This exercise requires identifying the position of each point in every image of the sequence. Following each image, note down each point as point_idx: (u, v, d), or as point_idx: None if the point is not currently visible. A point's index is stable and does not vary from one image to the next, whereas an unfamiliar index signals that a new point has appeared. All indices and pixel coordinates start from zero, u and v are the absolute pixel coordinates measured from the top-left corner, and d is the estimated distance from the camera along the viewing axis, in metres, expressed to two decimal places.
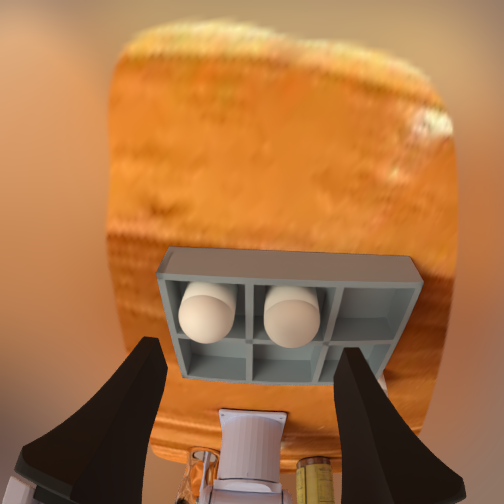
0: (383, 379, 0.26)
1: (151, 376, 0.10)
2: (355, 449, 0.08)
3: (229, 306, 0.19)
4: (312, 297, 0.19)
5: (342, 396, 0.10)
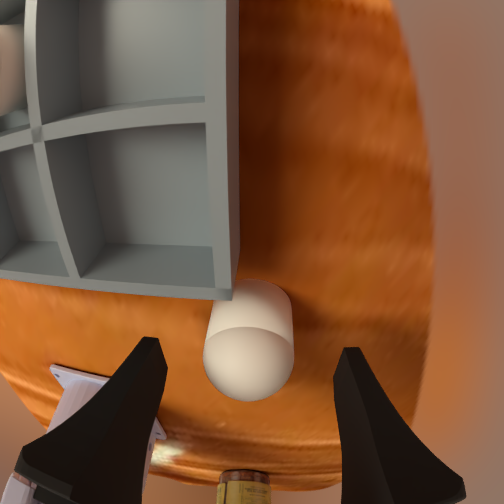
0: (281, 312, 0.12)
1: (151, 376, 0.10)
2: (355, 449, 0.08)
3: None
4: (6, 27, 0.05)
5: (342, 396, 0.10)
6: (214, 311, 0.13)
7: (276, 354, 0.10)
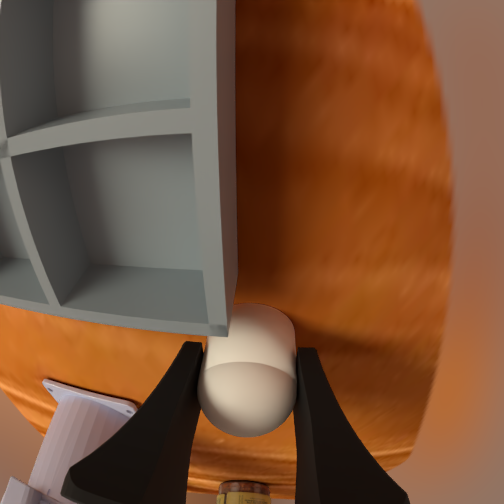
0: (283, 342, 0.11)
1: (196, 382, 0.10)
2: (304, 452, 0.08)
3: None
4: None
5: (296, 397, 0.10)
6: (209, 339, 0.11)
7: (277, 392, 0.09)
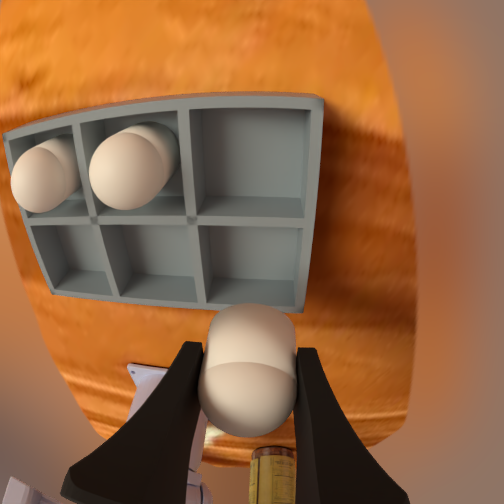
0: (283, 342, 0.11)
1: (196, 382, 0.10)
2: (303, 452, 0.08)
3: (59, 159, 0.13)
4: (154, 136, 0.13)
5: None
6: (210, 339, 0.11)
7: (277, 392, 0.09)
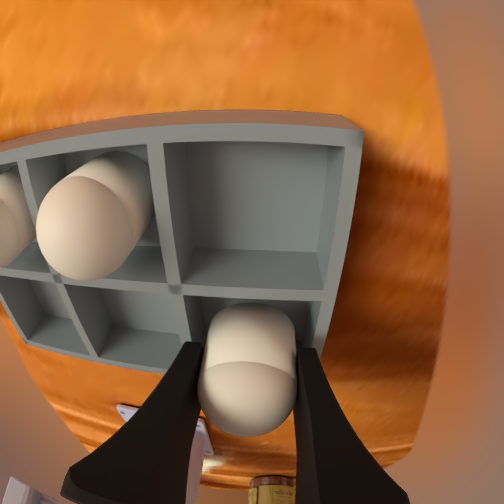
0: (283, 342, 0.11)
1: (196, 382, 0.10)
2: (303, 452, 0.08)
3: (7, 205, 0.09)
4: (119, 179, 0.09)
5: (296, 397, 0.10)
6: (209, 339, 0.11)
7: (277, 391, 0.09)
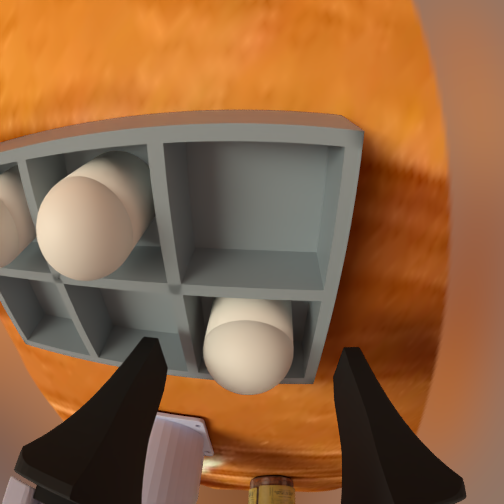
0: (280, 306, 0.12)
1: (151, 376, 0.10)
2: (355, 449, 0.08)
3: (7, 205, 0.09)
4: (119, 179, 0.09)
5: (342, 396, 0.10)
6: (214, 305, 0.13)
7: (275, 347, 0.11)
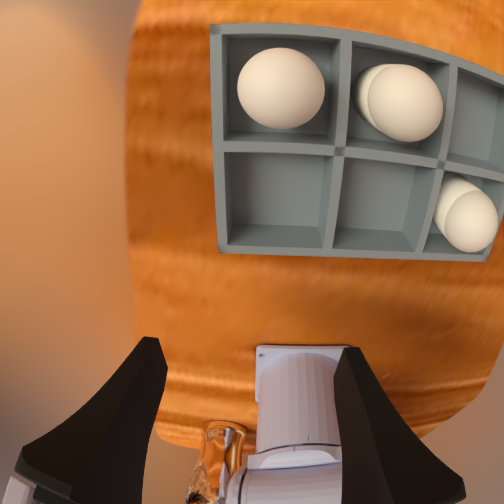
0: None
1: (151, 376, 0.10)
2: (355, 449, 0.08)
3: None
4: None
5: (342, 396, 0.10)
6: (442, 190, 0.15)
7: (495, 208, 0.13)
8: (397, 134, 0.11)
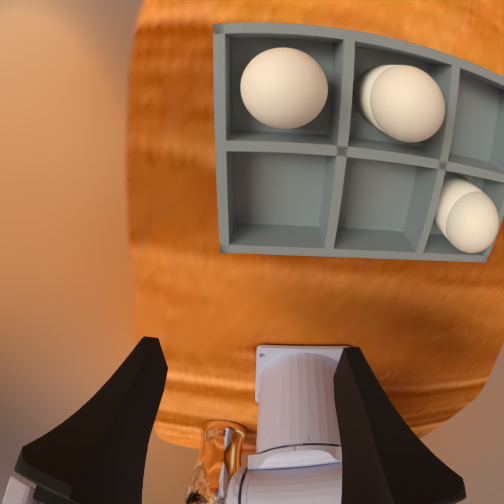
0: None
1: (151, 377, 0.10)
2: (355, 449, 0.08)
3: None
4: None
5: (342, 396, 0.10)
6: (443, 190, 0.15)
7: (496, 209, 0.13)
8: (399, 135, 0.11)
